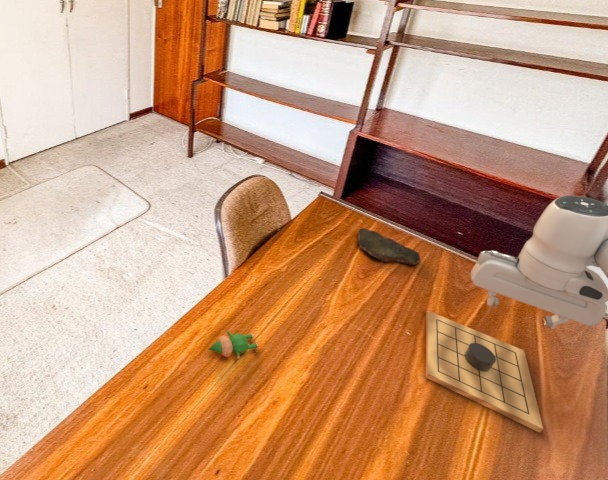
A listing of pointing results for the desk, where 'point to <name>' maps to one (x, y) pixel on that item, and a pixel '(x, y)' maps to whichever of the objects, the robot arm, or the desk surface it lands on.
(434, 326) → the go board
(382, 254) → the stone
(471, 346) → the game stone
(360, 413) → the desk surface
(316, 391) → the desk surface
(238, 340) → the figurine
